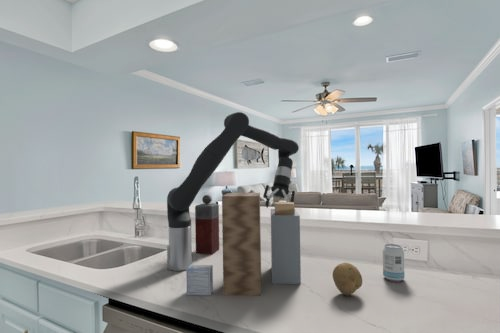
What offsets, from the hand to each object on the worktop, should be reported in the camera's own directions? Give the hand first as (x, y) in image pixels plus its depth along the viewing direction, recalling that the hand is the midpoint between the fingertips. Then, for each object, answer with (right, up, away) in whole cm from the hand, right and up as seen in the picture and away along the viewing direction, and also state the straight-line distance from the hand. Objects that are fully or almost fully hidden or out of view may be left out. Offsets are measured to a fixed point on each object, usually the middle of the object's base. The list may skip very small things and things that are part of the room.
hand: (276, 209), depth 130 cm
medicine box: (-29, -22, -36) cm, 51 cm away
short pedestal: (+1, -22, -22) cm, 31 cm away
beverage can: (+40, -21, -27) cm, 53 cm away
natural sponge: (+19, -22, -39) cm, 49 cm away
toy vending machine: (-33, -23, +12) cm, 42 cm away
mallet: (+1, +2, -18) cm, 19 cm away
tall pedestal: (-14, -22, -33) cm, 42 cm away
